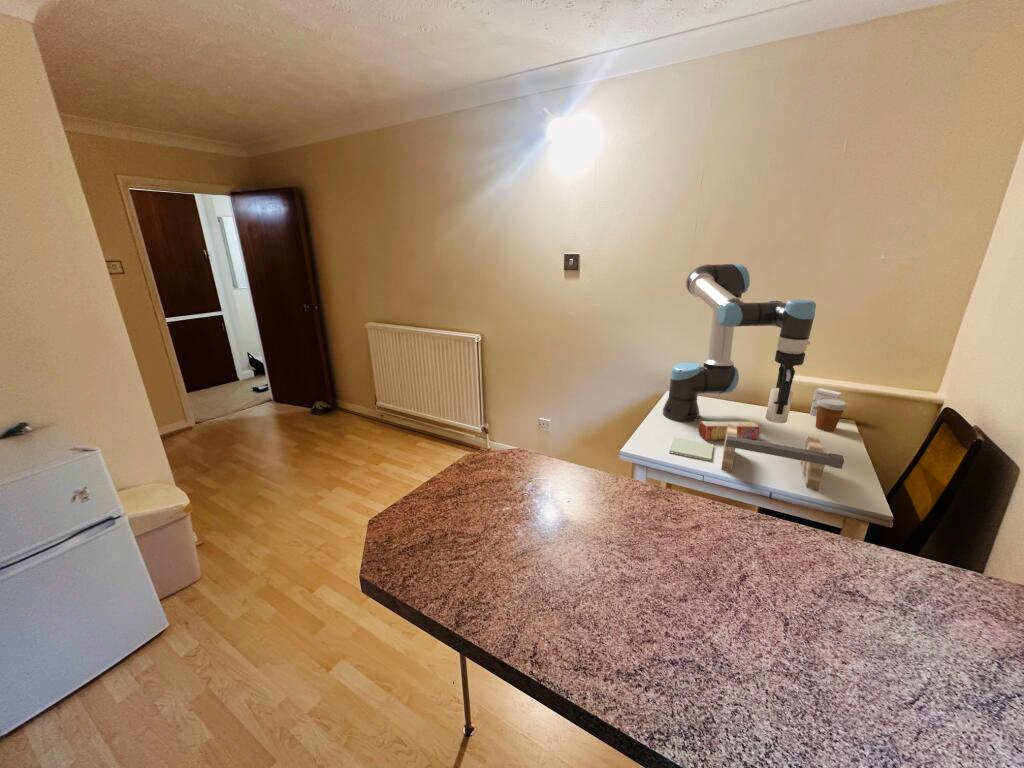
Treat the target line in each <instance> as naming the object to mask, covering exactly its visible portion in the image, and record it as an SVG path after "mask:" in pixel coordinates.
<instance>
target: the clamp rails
mask: <svg viewBox="0 0 1024 768" xmlns="http://www.w3.org/2000/svg"><path fill="white" fill-rule="evenodd" d="M727 436H733V437H737V424H732V423H728V426H727V432H726V438H725V439H724V445H723V452H722V462H721V470H723V469H724V471H729V472H732V470H733V464H734V458H735V453H736V448H733V447H727V446H726V440H727ZM804 449H806V450H812V451H817V452H823V453H825V451H824V449H823V447H822V443H821V440H820V438H819V437H818V436H817V437H815V436H810V435H807V437H806V441H805V447H804ZM800 465H801V468H802V469H801V470H802V474H803V478H804V479H803V480H804V482H805V486H806V487H805V488H809V489H813V490H817V491H818V490H819V488H820V485H821V481H822V477H823V474H824V470H825V466H826V465H822V464H817V463H812V462H806V461H801V462H800Z"/></svg>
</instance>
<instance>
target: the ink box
mask: <svg viewBox="0 0 1024 768" xmlns="http://www.w3.org/2000/svg"><path fill="white" fill-rule="evenodd" d="M842 395H843V392H840V391H835V390H831V389H826V388H821V387H819V388H817V389H815V391H814V395H813V399H812V403H811V408H810V412H809V415H810V416H813V417H816V416H817V401H818V399H819V398H822V397H828V398H835V399H839V400H842Z"/></svg>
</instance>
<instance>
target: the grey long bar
mask: <svg viewBox="0 0 1024 768" xmlns="http://www.w3.org/2000/svg"><path fill="white" fill-rule="evenodd" d="M726 446H727V447H733V448H735V449H738V450H742V451H743V450H745V451H749V452H755V453H760V454H765V455H770V456H775V457H781V458H786V459H791V460H796V461H797V460H798V461H801V462H802V461H806V462H812V463H817V464H822V465H825V466H828V467H830V468H834V469H840V470H842V469H843V465H844V462H845V458H844V456H843V454H838V453H832V452H829V453H828V452H824V453H823V452H817V451H812V450H806V449H805V448H800V447H794V446H790V445H789V446H788V445H785V444H784V445H782V444H777V443H772V442H767V441H761V440H760V441H759V440H757V439H756V440H750V439H744V438H739V437H733V436H727V440H726Z"/></svg>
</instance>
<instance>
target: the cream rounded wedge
mask: <svg viewBox="0 0 1024 768" xmlns="http://www.w3.org/2000/svg"><path fill="white" fill-rule="evenodd" d="M778 393H779V388H776V387H773V388H771V389H770V394H769V399H768V403H767V408H766V413H765V419H766V420H767V421H769V422H772V418H773V414H774V409H775V404H774V402H777V398H778ZM793 396H794V392H793V390H791V389H790V393H789V398H788V404H787V405H786V407H785V412H784V416H783V421H782V423H781V424H785V423H787V422H788V418H789V415H790V409H791V405H792V400H793ZM772 423H773V422H772ZM774 423H775V424H777V423H776V422H774Z"/></svg>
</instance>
